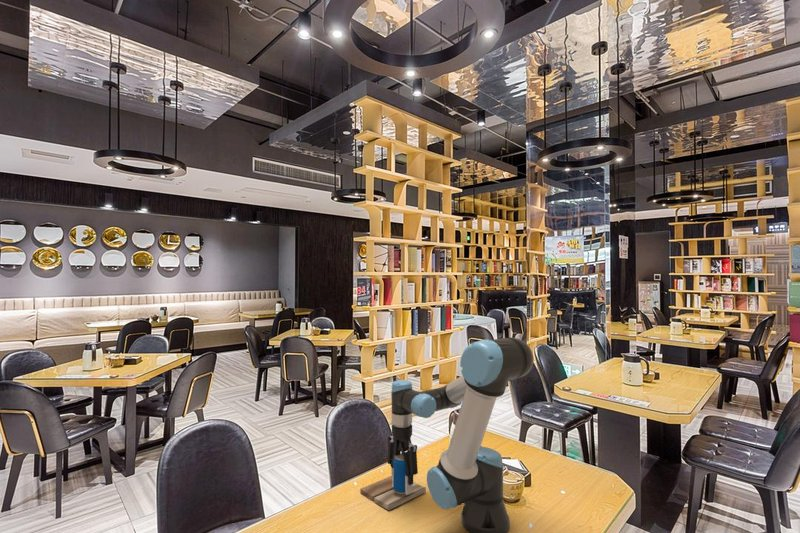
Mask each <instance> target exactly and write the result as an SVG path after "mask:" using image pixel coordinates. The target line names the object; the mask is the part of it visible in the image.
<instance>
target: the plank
mask: <svg viewBox="0 0 800 533" xmlns="http://www.w3.org/2000/svg"><path fill="white" fill-rule="evenodd" d="M425 493H427V487H425V486H423V485H421V484H418V483H416V482H414V481H413V484H412V493H410V494H408V495H406V494H399V493H397V492H396V491H394V489H393V490H390V491H388V492H386V493H384V494H381V495H379V496H377V497H375V498H374V503H375V504H377V505H378V506H380V507H382V508H384V509H386V510H387V511H390V510H393V509H395V508H397V507H399V506H401V505H403V504H405V503H407V502H409V501H411V500H413V499H415V498H417V497H419V496H421V495H423V494H425Z"/></svg>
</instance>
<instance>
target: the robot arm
mask: <svg viewBox="0 0 800 533" xmlns="http://www.w3.org/2000/svg"><path fill="white" fill-rule="evenodd" d="M459 362H460V368H462V369H461V370H460V372H461V376H459V377H457V378H456V379H453V381H450V382H449V383H448V384H446V385H444V386H440V387H438V388H437V387H436V388H432V389H426V390H423V391H419V390H415V389H413V384H412V381H410V380H408V379H399V380H397V379H396V380H395V381H393V382H392V384H391V392H390V394H391V396H390V397H391V435H390V436H387V442H388V444H387V445H388V447H387V448H388V449H387V464H388V465H390V467H391V476H392V487H393V459H394V458H395V457H394V456H397V455H399V454H400V453H402V455H403V457H404V462H405V467H406V471H407V474H406V475H405V494H406V495H408V494H410V493H412V484H413V482H414V476H416V475H418V473H419V472H418V469H419V468H418V455H417V454H418V453H417V451H418V445H417V444H413V443H412V440H411V439H412V438H411V437H412V436H413V425H412V424H413V415H415V416H417V417H419V418H424V419H429V418H431V417H432V415H434V414H435V412H438V411H442V410H446V409H453V408H456V407H458V406H460V408H459V412H458V416H457V417H456V422H455V425H454V428H453V432H452V435H451V438H450V442H449V445H448V448H447V449H445V450H443V452H442V453H441V454H440V457H439V459H438V463H437V465H436V466H432V467H431V468H429V469H428V470H427V474H426V483H427V488H428V491H429V493H430V496H431V498H432V500H433V501H434V503H435V504H436V505H437V506H438V507H440V508H441V509H443V510H450V509H453V508H454V509H455V508H457V507H458V506H460V505H462V504H463V508H462V511H461V524H462V527H463V528H464V529H465V530H466V531H467V532H469V533H508V532H509V530H510V517H509V514H508V513H507V512H508V511H507V508H506V505H505V502H504V501H505V500H504V465H503V457H502V454H501V453H500V452H499V451H497V450H496V449H493V448H490V447H487V446H482V444H483V440H484V437H485V433H486V432H487V427H488V426H489V422H490V418H491V416H492V413H493V409H494V407H495V404H496V400H497V399H498V398H500V397H503V395H505V391H506V388H507V386H508V383H509V382H512V381H514V380H516V379H520V378H523V377H525V376H526V375H528V374H529V373H530V371H532V368H533V365H534V354H533V351H532V349H531V347H530V345H528V344H527V343H526V342H525V341H524V340H522V339H520V338H517V337H504V338H496V339H495V338H494V339H482V340H478V341H474V342H471V343H470V344H468V345H467V346H466V347H465V349H464V350H463V352H462V354H461V357H460V361H459Z"/></svg>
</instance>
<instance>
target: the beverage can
mask: <svg viewBox="0 0 800 533" xmlns="http://www.w3.org/2000/svg"><path fill="white" fill-rule="evenodd" d="M394 457H395V458H394V459H393V489H394V491H396V492H397V493H399V494H405V475H406V474H407V471H406V467H405V462H404V457H403V455H402V452H401V453H400V454H399V455H397V456H394Z"/></svg>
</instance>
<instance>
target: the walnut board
mask: <svg viewBox="0 0 800 533" xmlns="http://www.w3.org/2000/svg"><path fill="white" fill-rule="evenodd" d="M390 490H393V487H392V475H390V476H387V477H386V478H385V477H384V478H383V479H380V480H379V481H375V482H372V483H371V484H368V485H366V486H364V487H362V488H360V490H359V492H360V494H361V495H363V496H364V497H365V498H367V499H368V500H370V501H371V502H374V498H375V497H377V496H379V495H381V494H384V493H386V492H388V491H390ZM374 503H375V502H374Z"/></svg>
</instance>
